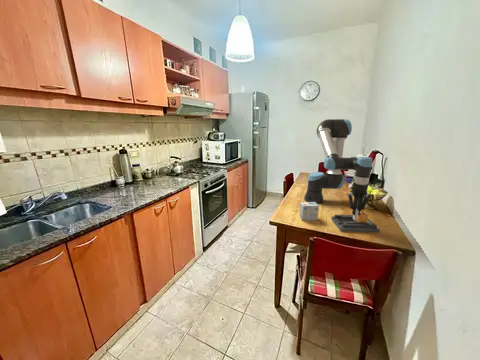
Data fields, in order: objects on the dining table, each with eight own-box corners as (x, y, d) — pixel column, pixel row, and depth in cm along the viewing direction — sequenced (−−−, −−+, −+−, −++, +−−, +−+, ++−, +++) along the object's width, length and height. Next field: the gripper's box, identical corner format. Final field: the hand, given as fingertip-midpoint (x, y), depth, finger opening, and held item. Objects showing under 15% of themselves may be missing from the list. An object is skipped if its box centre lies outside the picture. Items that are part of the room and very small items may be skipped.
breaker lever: (356, 220, 127) (357, 210, 126) (362, 220, 127) (364, 211, 125) (359, 223, 123) (361, 214, 121) (366, 224, 123) (368, 214, 121)
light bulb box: (313, 216, 139) (315, 201, 136) (317, 220, 133) (319, 205, 130) (298, 216, 139) (299, 201, 136) (301, 220, 133) (303, 205, 130)
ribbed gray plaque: (334, 216, 133) (334, 214, 132) (366, 217, 131) (366, 215, 131) (343, 227, 119) (343, 224, 119) (379, 228, 118) (379, 226, 117)
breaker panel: (331, 219, 134) (332, 213, 133) (365, 220, 132) (366, 214, 131) (340, 231, 120) (341, 224, 118) (379, 232, 118) (380, 225, 117)
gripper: (352, 184, 115) (346, 222, 122) (376, 185, 114) (368, 222, 121) (346, 181, 122) (341, 216, 129) (369, 181, 121) (362, 217, 128)
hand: (354, 219), depth 125 cm, fingers closed
